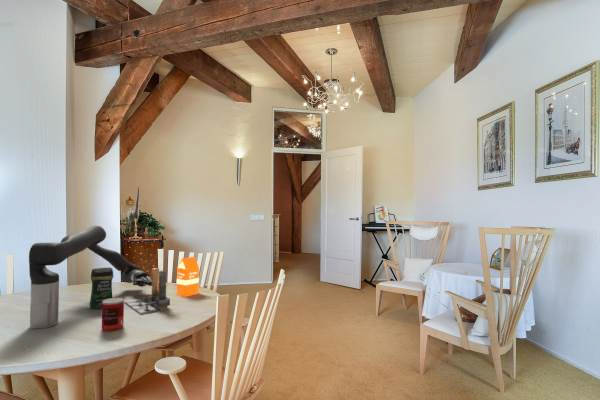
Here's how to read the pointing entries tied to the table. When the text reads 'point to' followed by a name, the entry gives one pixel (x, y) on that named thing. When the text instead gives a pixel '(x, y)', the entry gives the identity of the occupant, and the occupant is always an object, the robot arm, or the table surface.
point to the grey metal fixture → (158, 303)
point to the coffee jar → (101, 286)
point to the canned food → (112, 314)
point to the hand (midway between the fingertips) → (151, 283)
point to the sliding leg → (153, 286)
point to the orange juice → (187, 277)
